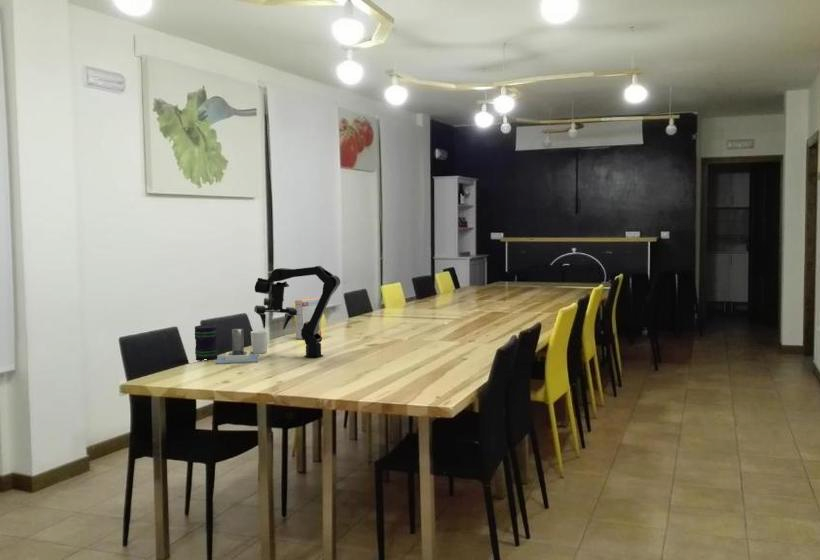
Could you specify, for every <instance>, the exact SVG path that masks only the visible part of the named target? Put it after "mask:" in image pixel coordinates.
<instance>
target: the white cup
mask: <svg viewBox="0 0 820 560" xmlns="http://www.w3.org/2000/svg"><path fill="white" fill-rule="evenodd" d="M250 341H251V348H252V354H256V353H260V354H265V352H266V353H268V331H267V330H252V331H250Z"/></svg>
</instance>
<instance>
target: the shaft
mask: <svg viewBox="0 0 820 560" xmlns="http://www.w3.org/2000/svg"><path fill="white" fill-rule="evenodd" d="M231 342H232V344H231V346H232V347H231V348H232V351H231V352H232V355H244V352H245V347H244V346H245V345H244V343H245V342H244V328H233V329H231Z"/></svg>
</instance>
